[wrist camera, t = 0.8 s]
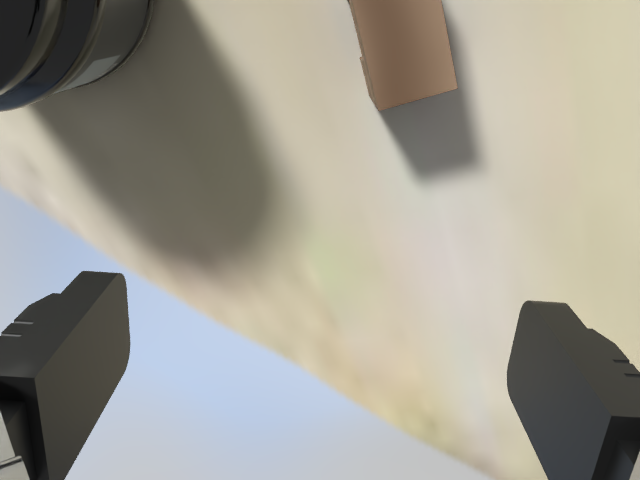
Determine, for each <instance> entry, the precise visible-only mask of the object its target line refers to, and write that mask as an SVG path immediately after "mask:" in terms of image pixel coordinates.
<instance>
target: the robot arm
mask: <svg viewBox="0 0 640 480" xmlns="http://www.w3.org/2000/svg"><path fill="white" fill-rule="evenodd" d="M129 353H130V333H129V317H128V302H127V288H126V281H125V278H124V276H123V274H121V273H108V272H93V271H82V272H81V273H80V274H79V275H78V276H77V277H76V278H75V279H74V280H73V281H72V282H71V283H70V284H69V285H68V286H67V287H66V288H65V290H64V291H63V292H62V293H61V294H57V293H56V294H55V293H52V294H50V295H48V296H46V297H44V298H43V299H41V300H39V301H37V302H35V303H33V304H31V305H29V306H28V307H27V308H26V309H25V310H24V311H23V312H22V313H21V314H20V315H19V316H18V317H17V318H16V319H15V320H14V323H11V324H10V325H9V326H8V327H7V328H6V329H5V330H4V331H3V332H2V334H1V336H0V480H64V479H65V477H66V475H67V474H68V472H69V470H70V469H71V467H72V465H73V463H74V461H75V460H76V458H77V456H78V454H79V452H80V451H81V449H82V447H83V445H84V444H85V442H86V440H87V438H88V436H89V435H90V433H91V431H92V429H93V428H94V426H95V424H96V422H97V420H98V419H99V417H100V415H101V413H102V412H103V410H104V408H105V406H106V404H107V403H108V401H109V399H110V397H111V396H112V394H113V392H114V390H115V388H116V387H117V385H118V383H119V381H120V380H121V378H122V376H123V374H124V372H125V370H126V367H127V363H128V359H129ZM507 387H508V392H509V396H510V399H511V401H512V403H513V405H514V407H515V410H516V412H517V414H518V416H519V418H520V420H521V422H522V424H523V427H524V429H525V431H526V433H527V435H528V437H529V439H530V441H531V444H532V446H533V448H534V450H535V452H536V454H537V456H538V458H539V461H540V463H541V465H542V467H543V469H544V471H545V473H546V475H547V478H548V480H640V372H639V371H638V370H637V369H636V368H635V366H634V365H633V364H630V363H629V359H628V358H627V357H626V356H625V355H624V354H623V352H622V351H621V350H620V349H619V348H618V347H617V345H616V344H615V343H613V342H612V341H610V340H609V339H607V338H605V337H604V336H602V335H601V334H599V333H598V332H596V331H595V330H593V329H587V328H586V326H585V325H584V324H583V323H582V321H581V320H580V319H579V318H578V317H577V315H576V314H575V313H574V312H573V310H572V309H571V308H570V307H569V306H568V305H567V304H566V303H558V302H542V301H526V302H525V303H524V304H523V306H522V308H521V311H520V314H519V319H518V323H517V328H516V332H515V337H514V341H513V346H512V350H511V355H510V359H509V363H508V369H507Z"/></svg>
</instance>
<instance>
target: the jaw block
mask: <svg viewBox="0 0 640 480" xmlns="http://www.w3.org/2000/svg"><path fill="white" fill-rule="evenodd" d="M349 3H350V8H351V12H352V16H353V20H354V24H355V28H356V32H357V36H358V40H359V45H360V49H361V53H362V57H360V60H361V64H362V68H363V72H364V76H365V80H366V84H367V89H368V93H369V96H370V98H371V99H372V101H373V102H374V104H375V106H376V107H377V109H378V111H380V110H384V109H387V108H391V107H395V106H398V105H402V104H405V103H409V102H412V101H416V100H419V99H423V98H426V97H430V96H433V95H437V94H440V93H444V92H447V91H451V90H454V89H458V87H457V82H456V77H455V71H454V66H453V61H452V55H451V50H450V44H449V39H448V34H447V28H446V23H445V18H444V12H443V7H442V2H441V0H349Z"/></svg>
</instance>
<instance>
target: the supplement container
mask: <svg viewBox="0 0 640 480" xmlns="http://www.w3.org/2000/svg"><path fill="white" fill-rule="evenodd" d="M153 5H154V0H0V112H3V111H10V110H14V109H18V108H22V107H26V106H28V105H31V104H34V103H36V102H39V101H41V100H43V99H45V98H47V97H48V96H50V95H52V94H55V93H58V92H61V91H64V90H67V89H70V88H77V87H81V86H85V85H89V84H91V83H94V82H97V81H99V80H101V79H103V78H105V77H107V76H109V75H110V74H112V73H113V72H115V71H116V70H118V69H119V68H120V67H121V66H122V65H123V64H124V63H126V62H127V60H128V59H129V58H130V57H131V56H132V55H133V54H134V52H135V51H136V49H137V48H138V46H139V45H140V43H141V41H142V39H143V38H144V36H145V33H146V31H147V28H148V26H149V23H150V19H151V16H152V11H153Z"/></svg>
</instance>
